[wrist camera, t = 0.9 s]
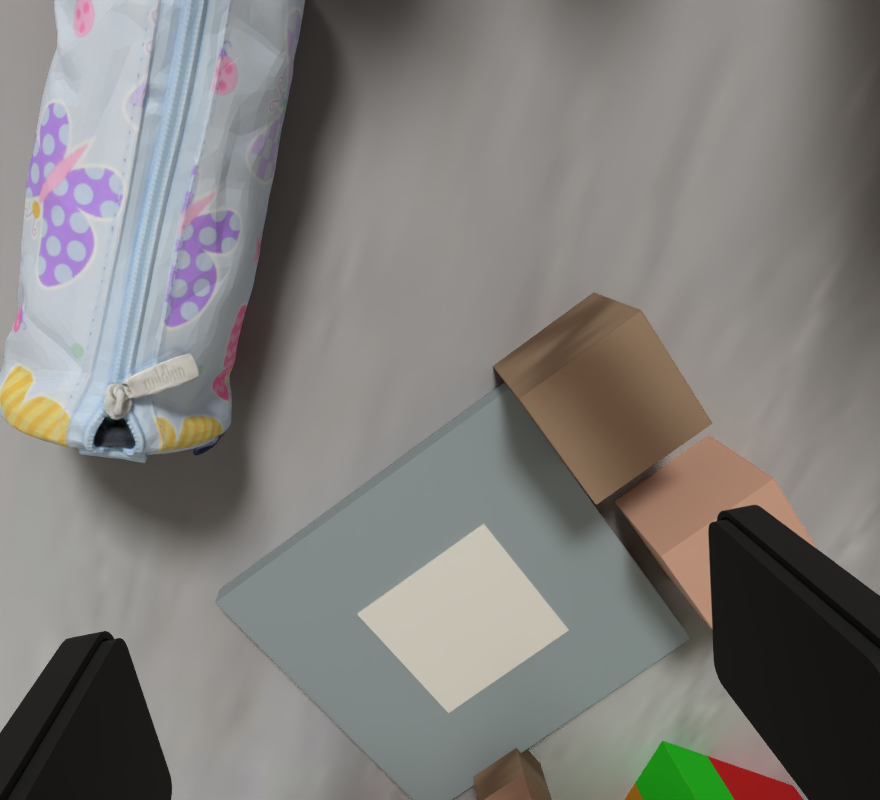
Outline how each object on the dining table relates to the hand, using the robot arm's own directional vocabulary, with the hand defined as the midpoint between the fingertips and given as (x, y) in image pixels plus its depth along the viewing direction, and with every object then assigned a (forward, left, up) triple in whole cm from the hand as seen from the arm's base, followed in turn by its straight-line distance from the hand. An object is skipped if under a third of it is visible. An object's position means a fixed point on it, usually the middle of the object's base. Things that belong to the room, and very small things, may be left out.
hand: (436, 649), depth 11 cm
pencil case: (+2, -11, -23) cm, 26 cm away
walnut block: (-7, +7, -23) cm, 25 cm away
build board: (+5, +14, -23) cm, 27 cm away
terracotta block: (-8, +17, -23) cm, 29 cm away
